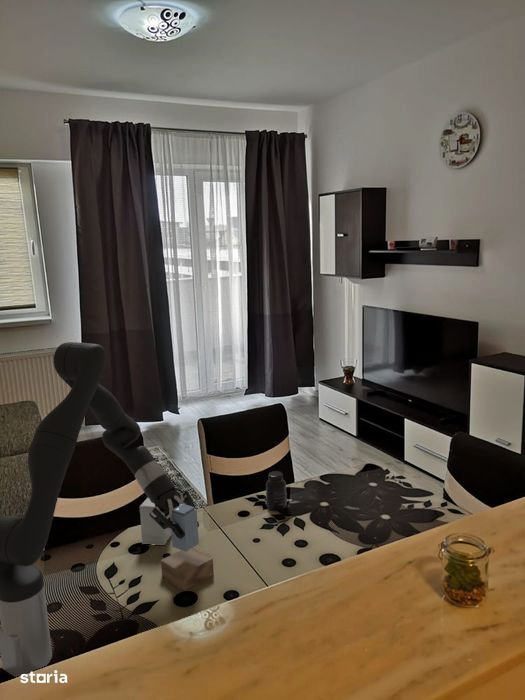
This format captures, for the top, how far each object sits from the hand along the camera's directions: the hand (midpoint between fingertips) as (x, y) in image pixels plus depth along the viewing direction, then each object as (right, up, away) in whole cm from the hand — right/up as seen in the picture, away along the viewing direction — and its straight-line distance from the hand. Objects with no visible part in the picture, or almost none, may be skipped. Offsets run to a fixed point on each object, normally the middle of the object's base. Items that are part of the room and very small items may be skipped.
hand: (190, 532), depth 151 cm
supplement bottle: (+24, -5, +42) cm, 49 cm away
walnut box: (-1, -13, +3) cm, 13 cm away
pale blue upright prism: (-1, -4, +2) cm, 5 cm away
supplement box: (-13, -10, +23) cm, 28 cm away
